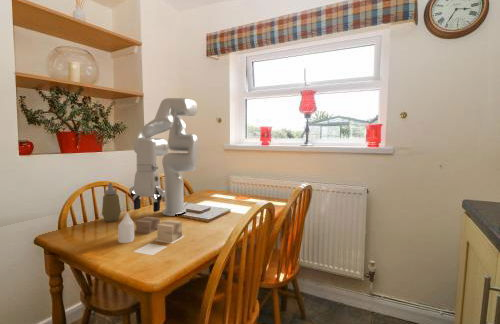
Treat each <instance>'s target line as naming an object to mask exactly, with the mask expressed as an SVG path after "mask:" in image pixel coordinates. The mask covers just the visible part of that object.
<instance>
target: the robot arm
mask: <svg viewBox="0 0 500 324" xmlns="http://www.w3.org/2000/svg"><path fill="white" fill-rule="evenodd" d="M197 113H198V104H197V102H196V100H194V99H190V98H186V97H185V98H184V97H167V98H164V99H162V100H161V102H160V104H159V105H158V109H157V111H156V114H155V115H154V116H155V117H154V119H152V120H150V121H149V122H148V123H146V124H145V125H143V126H142V127H141V128H140V129H139V131H138V132H137V134H136V137H135V139H134V143H133V151H134V153H135V154H136V172H135V174H134V182H133V186H132V187H129V189H128V191H129V194H130V196H131V198H132V200H133V209H134V210H135V211H136V210H139V209H141V208H142V207H141V206H142V205H141V204H142V202H141V197H145V198H147V197H148V198H152V199H153V205H152V206H153V212H154V213H156V212H160V211H161V214H162V215H163V216H169V217H173V216H175V214H176V213H178V212H182V211H183V210H184V208H185V206H188V204H189V203H188V201H185V200H184V199H185V198H184V178H183V175H182V174H181V173H180V172H194V171H195V170H196V169H197V166H198V159H199V158H198V155H199V146H200V145H199V142H200V141H199V138H198V136H197V134H195V133H187V124H186V122H185V121H184V120H183V119H182V117H194V116H196V115H197ZM167 131H168V141H167V140H166V139H164V138H160V137H157V138H156V137H155V138H154V136H157V135H159V134H162V133H165V132H167ZM169 150H170V151H171V152H169ZM172 151H173V152H172ZM182 152H183V153H182ZM186 152H187V153H186ZM158 156H159V157H161V156H163V157H162V162H161V164H162V169H163V174H164V175H163V176H164V178H163V179H164V189H163V188H161V180H160V175H159V172H158V171H157V170H159V167H158V166H157V157H158ZM163 198H164V209H162V210H161V202H162V200H163ZM184 201H185V202H184Z"/></svg>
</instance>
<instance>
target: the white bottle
mask: <svg viewBox="0 0 500 324" xmlns="http://www.w3.org/2000/svg"><path fill="white" fill-rule="evenodd" d="M117 228H118V229H117V233H118V234H117V235H118V238H117V239H118V240H117V241H118V243H120V244H127V243H132V242H133V241H134V240H135V223H134V221H133V219H132V218H131V216H130V213H129V212H126V213H125V214H124V217H123V218H122V220H121V221H120V223H118V226H117Z"/></svg>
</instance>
